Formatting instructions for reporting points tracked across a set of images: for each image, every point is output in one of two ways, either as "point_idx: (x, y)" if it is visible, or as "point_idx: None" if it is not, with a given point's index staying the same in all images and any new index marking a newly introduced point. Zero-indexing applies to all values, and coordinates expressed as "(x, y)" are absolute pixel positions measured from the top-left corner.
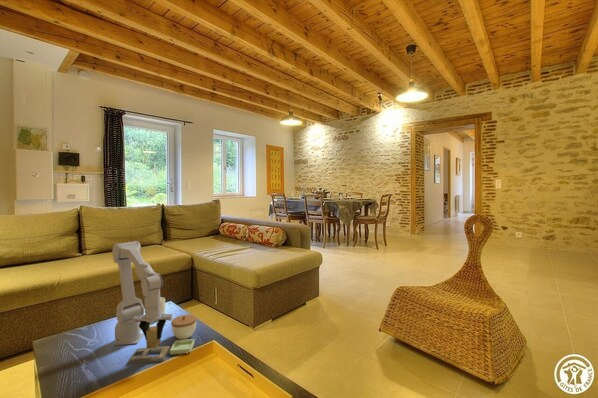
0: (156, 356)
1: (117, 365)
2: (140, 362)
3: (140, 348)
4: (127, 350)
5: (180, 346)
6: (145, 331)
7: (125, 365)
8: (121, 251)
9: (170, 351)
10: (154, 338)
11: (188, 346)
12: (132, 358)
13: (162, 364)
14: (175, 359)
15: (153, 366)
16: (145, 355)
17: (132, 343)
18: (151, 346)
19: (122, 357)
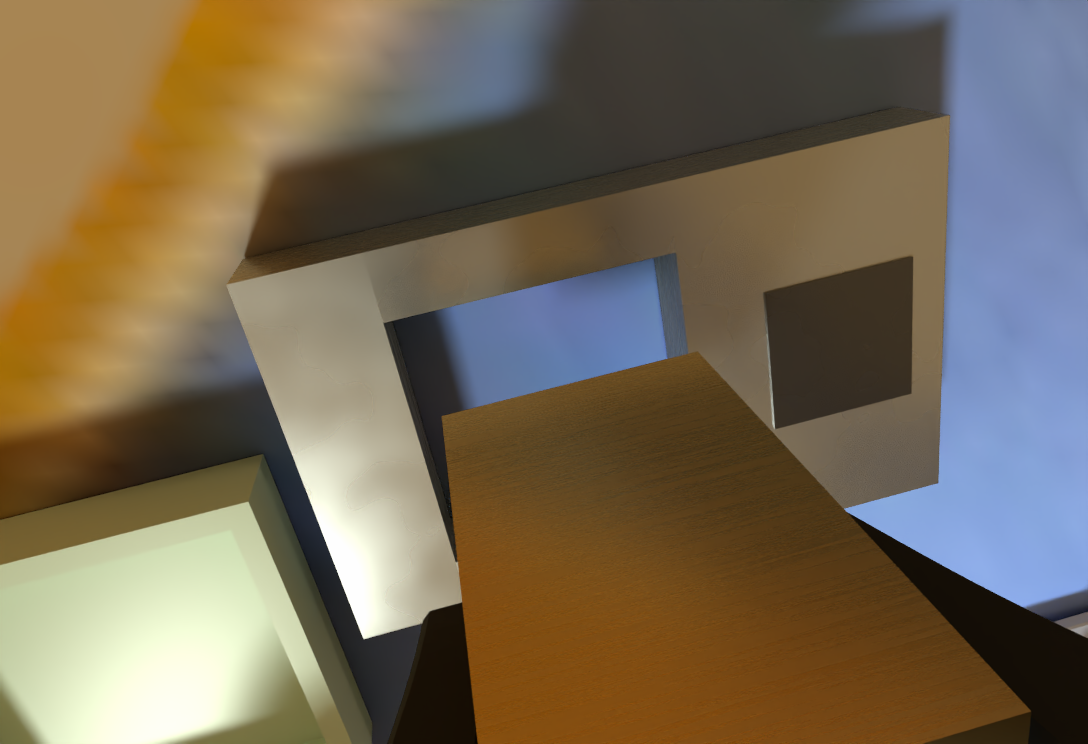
0: (412, 280)
1: (1079, 37)
2: (694, 156)
3: (885, 490)
4: (1071, 470)
5: (208, 683)
6: (1054, 710)
7: (935, 46)
8: None
9: (235, 492)
10: (547, 558)
11: (42, 708)
12: (890, 161)
13: (181, 128)
14: (18, 328)
15: (338, 40)
16: (679, 299)
17: (1066, 621)
18: (593, 402)
19: (1080, 286)
